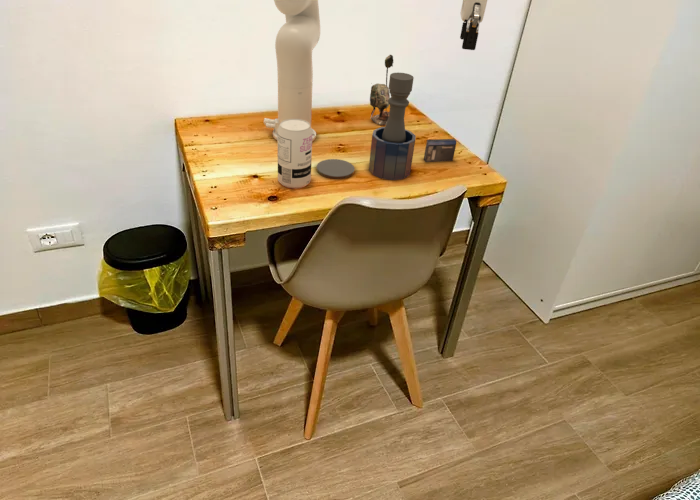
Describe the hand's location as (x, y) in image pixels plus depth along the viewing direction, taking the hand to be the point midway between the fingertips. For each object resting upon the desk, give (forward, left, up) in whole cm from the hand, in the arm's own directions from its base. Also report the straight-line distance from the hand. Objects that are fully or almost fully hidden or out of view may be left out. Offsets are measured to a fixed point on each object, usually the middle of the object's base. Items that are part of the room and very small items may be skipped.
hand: (467, 44), depth 132 cm
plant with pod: (-20, +21, -31) cm, 42 cm away
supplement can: (-38, -26, -31) cm, 56 cm away
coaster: (-29, -17, -31) cm, 46 cm away
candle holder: (-15, -13, -31) cm, 37 cm away
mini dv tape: (-2, -3, -31) cm, 31 cm away
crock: (-15, -13, -31) cm, 37 cm away
